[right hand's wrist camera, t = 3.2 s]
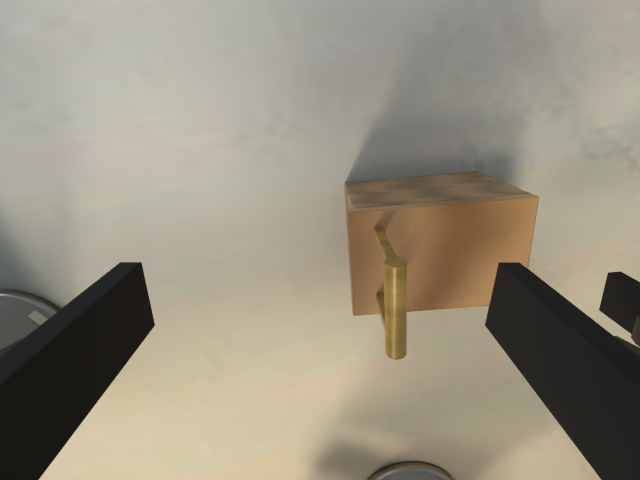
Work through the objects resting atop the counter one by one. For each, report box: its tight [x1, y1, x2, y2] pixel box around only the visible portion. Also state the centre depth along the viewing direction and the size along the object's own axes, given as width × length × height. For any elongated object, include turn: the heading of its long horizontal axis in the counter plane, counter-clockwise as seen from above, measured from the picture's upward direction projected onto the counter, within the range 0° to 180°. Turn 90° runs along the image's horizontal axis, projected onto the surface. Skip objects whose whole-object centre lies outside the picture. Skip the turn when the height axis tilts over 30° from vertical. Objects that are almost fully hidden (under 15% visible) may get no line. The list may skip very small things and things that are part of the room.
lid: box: [346, 193, 539, 359], centre depth 26 cm, size 15×10×9 cm, turn 95°
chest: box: [345, 171, 529, 209], centre depth 34 cm, size 14×10×10 cm
